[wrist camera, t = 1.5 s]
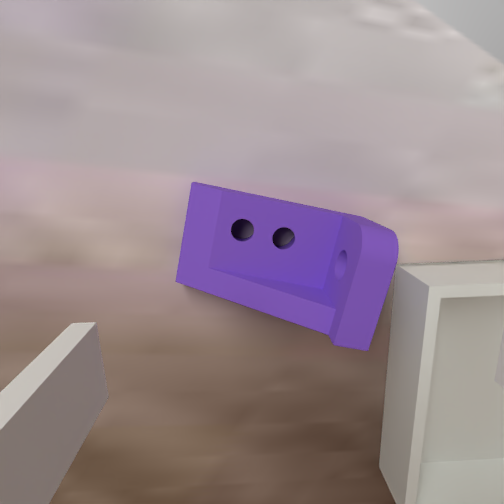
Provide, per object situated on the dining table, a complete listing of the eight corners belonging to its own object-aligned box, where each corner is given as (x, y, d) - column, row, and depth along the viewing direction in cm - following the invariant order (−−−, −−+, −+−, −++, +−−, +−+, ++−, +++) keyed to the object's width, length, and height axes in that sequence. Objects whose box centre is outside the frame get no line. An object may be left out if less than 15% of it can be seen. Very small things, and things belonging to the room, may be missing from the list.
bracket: (360, 216, 25) (405, 236, 18) (335, 303, 26) (367, 350, 20) (194, 181, 24) (177, 189, 17) (179, 274, 25) (158, 315, 19)
